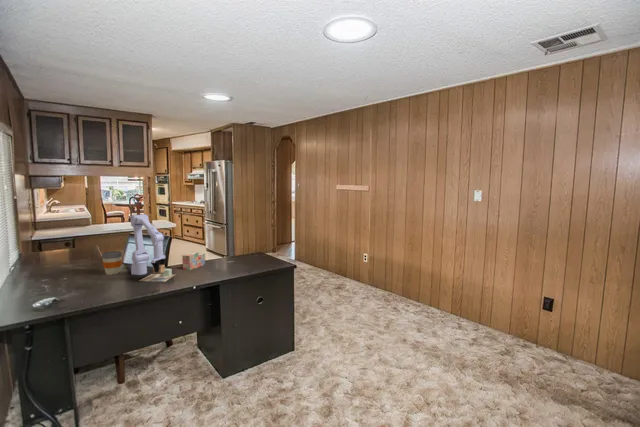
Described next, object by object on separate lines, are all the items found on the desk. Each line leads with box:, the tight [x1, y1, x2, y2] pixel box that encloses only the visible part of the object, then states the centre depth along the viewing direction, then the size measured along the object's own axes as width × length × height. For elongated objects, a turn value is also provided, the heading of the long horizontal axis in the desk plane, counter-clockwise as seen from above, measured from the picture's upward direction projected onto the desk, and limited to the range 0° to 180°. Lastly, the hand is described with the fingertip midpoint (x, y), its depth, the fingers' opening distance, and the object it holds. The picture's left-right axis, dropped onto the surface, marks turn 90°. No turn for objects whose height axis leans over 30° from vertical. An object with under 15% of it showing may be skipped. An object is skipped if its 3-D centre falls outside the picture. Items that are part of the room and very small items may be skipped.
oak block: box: [152, 264, 166, 274], centre depth 219 cm, size 5×5×4 cm
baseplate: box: [139, 273, 177, 282], centre depth 224 cm, size 18×16×1 cm
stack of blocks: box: [181, 251, 206, 271], centre depth 253 cm, size 21×6×12 cm, turn 169°
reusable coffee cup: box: [101, 250, 123, 276], centre depth 236 cm, size 13×13×15 cm
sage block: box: [162, 268, 173, 276], centre depth 228 cm, size 4×4×4 cm
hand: (159, 270), depth 219 cm, fingers closed on oak block, 5 cm apart
